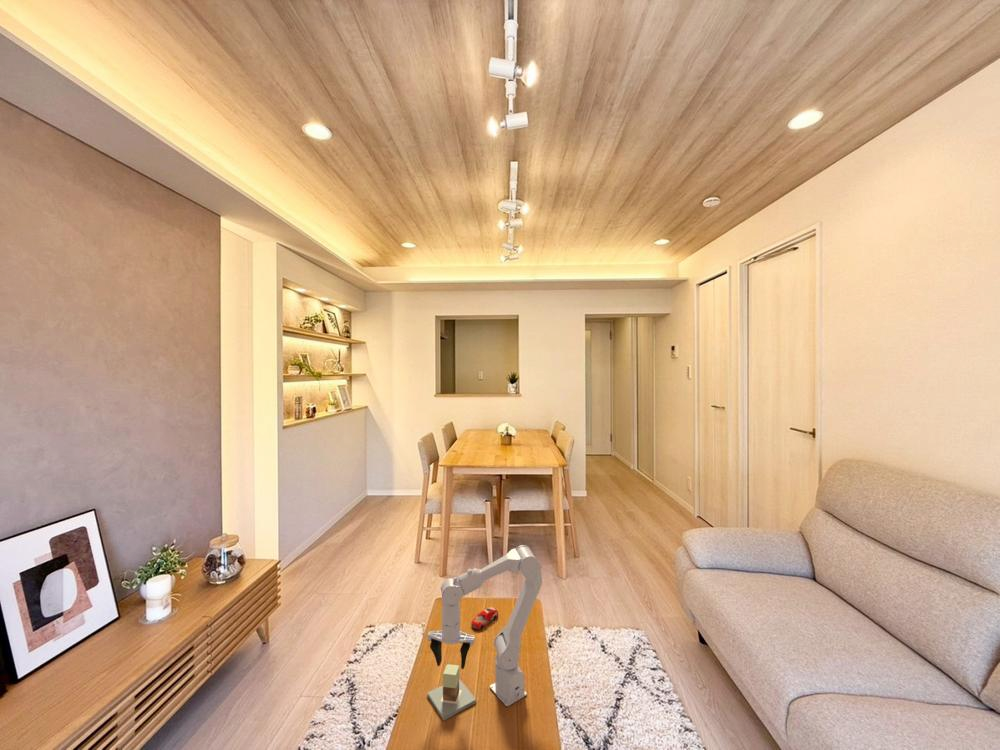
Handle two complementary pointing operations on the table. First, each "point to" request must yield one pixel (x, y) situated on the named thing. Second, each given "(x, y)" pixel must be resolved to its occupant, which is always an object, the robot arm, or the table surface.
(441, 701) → the baseplate
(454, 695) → the walnut cube
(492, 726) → the table surface
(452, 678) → the sage cube
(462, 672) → the table surface
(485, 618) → the race car
